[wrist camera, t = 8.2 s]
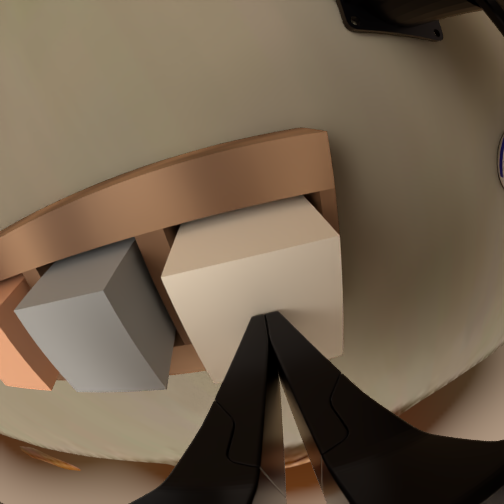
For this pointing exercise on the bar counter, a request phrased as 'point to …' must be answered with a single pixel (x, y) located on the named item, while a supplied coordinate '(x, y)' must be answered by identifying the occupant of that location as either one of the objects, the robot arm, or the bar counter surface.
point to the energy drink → (501, 160)
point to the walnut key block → (173, 208)
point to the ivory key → (256, 277)
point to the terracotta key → (20, 343)
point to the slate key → (102, 320)
